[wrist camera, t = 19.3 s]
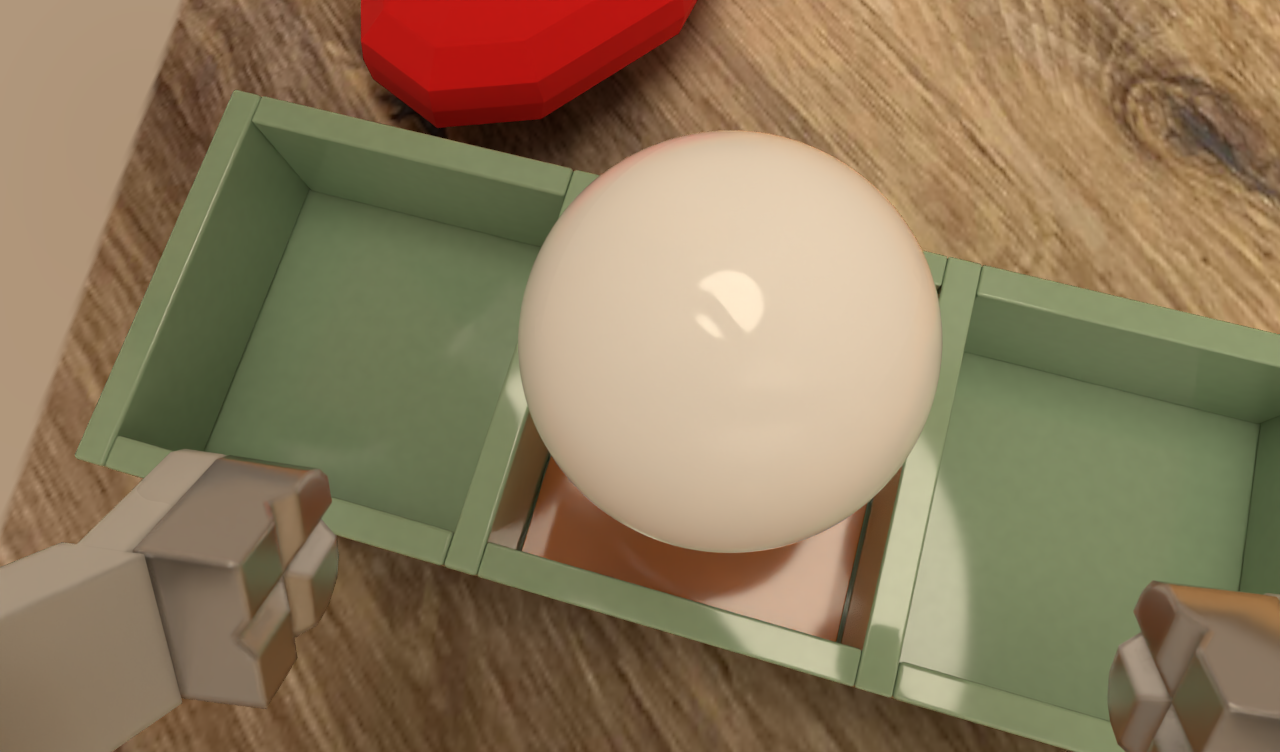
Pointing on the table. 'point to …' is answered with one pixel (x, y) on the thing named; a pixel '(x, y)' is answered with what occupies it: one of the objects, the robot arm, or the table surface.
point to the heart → (506, 51)
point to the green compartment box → (646, 568)
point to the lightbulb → (730, 341)
